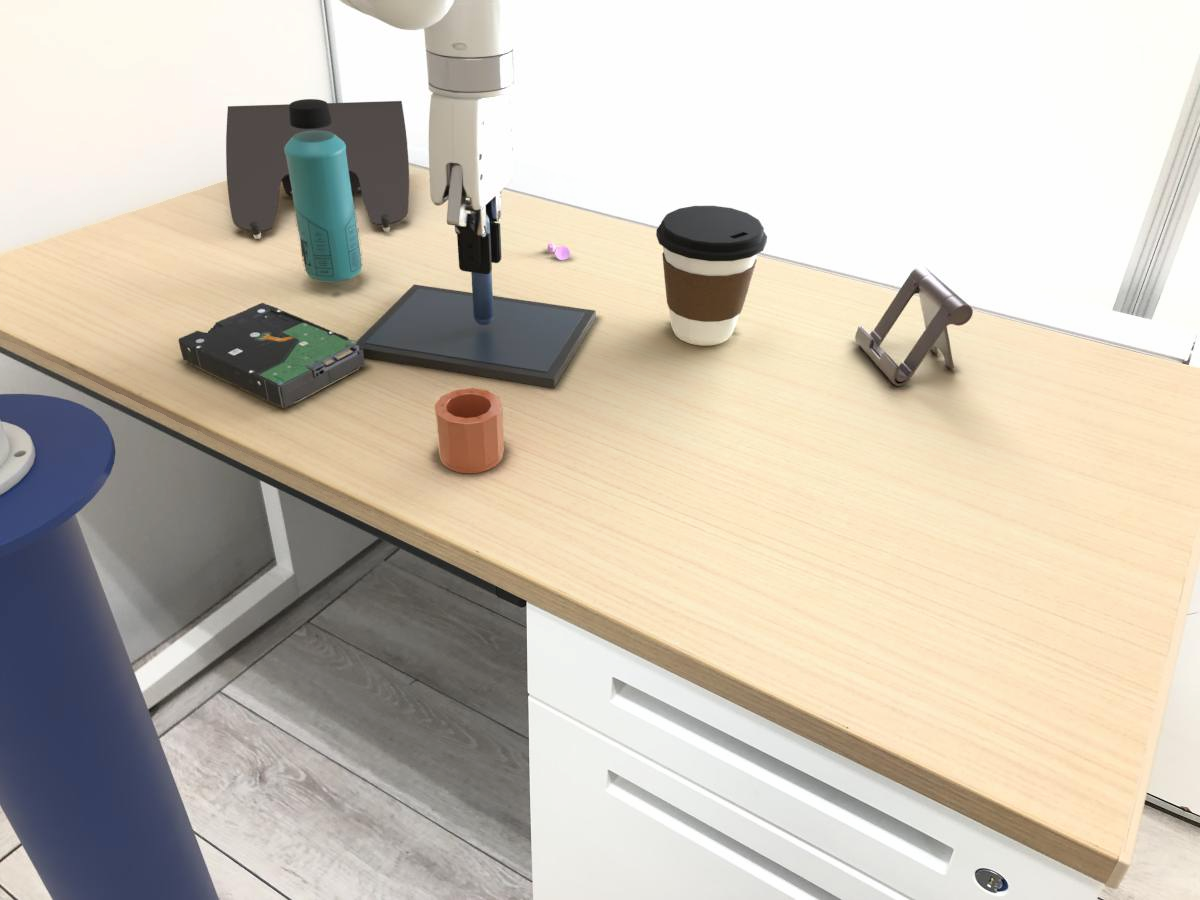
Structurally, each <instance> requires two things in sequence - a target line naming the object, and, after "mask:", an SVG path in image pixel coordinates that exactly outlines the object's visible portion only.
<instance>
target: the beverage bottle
mask: <svg viewBox="0 0 1200 900" xmlns="http://www.w3.org/2000/svg"><path fill="white" fill-rule="evenodd" d="M327 103H328V102H327V101H325V100H322V99H318V98H305V99H297V100H294V101H292V102H291V103H289V104H290V105H289V113H290V125H291V126H293V127H295V128H301V129H315V128H322V127H326V126H328V125H330V124H331V123H332V120H331V116H330V112H329V107H328V104H327ZM284 151H285V154H286V159H287V164H288V170H289V176H290V182H291V188H292V191H291V189H290V192H291V193H292V196H293V197H292V205H293V207H294V211H295V213H294V215H293V216H295V222H296V224H295V227H297V228H296V230H297V231H298V237H297V239H298V240H299V246H300V250H299V251H300V252H301V254H300V255H301V259H302V262H303V264H302V265H303V266H302V267H304V268H303V269H304V272H306V274H307V276H308V277H309V278H310V279H312V280H315V281H317V282H318V281H319V282H324V283H325V282H326V283H335V282H343V281H347V280H350V279H352V278H355V277H357V276H358V275H359V274H360V273H361V272H362V266H363V254H362V253H363V252H362V250H361V244H362V243H360V239H361V238H360V235H359V228H358V226H357V225H358V224H357V223H358V218H357V216H358V215H357V213H356V209H357V208H356V206H355V205H356V204H355V200H354V194H353V193H352V191H351V184H350V177H349V170H348V163H347V156H346V145H345V143H344V142H343V141H342V140H341V139H340V138H339V137H337V136H336V135H335V134H333V133H331V132H328V131H320V130H313V131H304V132H300V133H297V134H295V135H294V136H293V137H292V138H291V139H290V140H289V141H288V143H287V144H286V146H285V148H284Z"/></svg>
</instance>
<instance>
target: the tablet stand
mask: <svg viewBox="0 0 1200 900" xmlns="http://www.w3.org/2000/svg"><path fill="white" fill-rule="evenodd" d="M916 294H918V296H919V302H920V307H921V313H922V317H923V321H924V327H925V329H924V330H923V332H922V334H921V335H920V337H919V339H918V340H917V341H916V343H914V346H913V347H912V349H911V350H910V352H909V353H908V355H907V356H906V357H905V359H904V361H903V362H901V363H900V364H899V365H898V363H896V361H895V360H893V358H891V356H890V355H889V354H888V353H887V352H886V351H885V350H883V348H881V345H882V343H883V341H884V340H885V338H886V337H887V336H888V334H889V332H890V331H891V329H892V328H893V327H894V325H895V323H896V322H897V320H898V319H899V317H900V316H901V314H902V312H903V311H904V310H905V308H906V307H907V305H908V304H909V302H910V301H911V299H912V297H913V296H915V295H916ZM973 313H974V312H973V308H972V307H971V305H969V304H968V303H967V302H966V301H965V300H964V299H963V298H962V297H960V296H959V295H958V294H956V293H955V292H954V291H953V290H952V289H951V288H949V286H947V285H946V284H945V283H944V282H943V281H941V280H940V279H939V278H938V277H937V276H936V275H935V274H934V273H932V272H931V270H929V269H928V268H926V267H925V266H918V267H916V268H914V269H913V270H912V271H911V272H910V274H909V276H908V277H907V278H906V280H905V281H904V282H903V284H902V286H901V287H900V289H899V290H898V291H897V294H896V295H895V297H894V298H893V300H892V301H891V303H890V304H889V306H888V307H887V309H886V310H885V312H884V313H883V315H882V317H881V318H880V320H879V321H878V322H877V324H876V326H875V327H874V329H873V330H871V332H870V333H869V332H868V331H867V330H866V329H865V328H864V327H863V326H862V325H858V327H857V330H856V332H855V335H854V340H855V342H856V343H857V345H858V346H860V349H862V350H863V351H864V353H866V354H867V356H868V357H869V358H870V359H871V360H872V361H873V362H874V364H875V365H876V366H877V367H878V368H879V369H880V370H881V371H882V372H883V374H884V375H885V377H886V378H887V379H888V380H889V381H890V382H891V383H892V384H893V385H894V386H896V387H902V386H904V385H906V384H907V383H908V382H909V381H910V380H911V378H912V377H913V376H914V374H915V372H916V371H917V369H918V368H919V367H920V366H921V364H922V362H923V361H924V360H925V358H926V357H927V355H928V354H929V352H930V351H932V352H933V353H934V355H938V354H939V351H940V352H941V354H942V357H943V360H944V363H945V365H946V366H947V367H948V369H950V370H953V369H955V365H954V359H953V353H952V348H951V343H950V336H949V332H948V326H949V325H954V326H957V327H958V326H964V325H966V324H967V323H968V322H969V321H970V320H971V319H972V317H973Z"/></svg>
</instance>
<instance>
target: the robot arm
mask: <svg viewBox="0 0 1200 900" xmlns="http://www.w3.org/2000/svg"><path fill="white" fill-rule="evenodd" d="M339 2H341V3H342V4H344V5H346V6H348V7H350V8H352V9H354V10H356V11H358V12H360V13H362V14H364V15H367V16H370V17H372V18H374V19H377V20H379V21H381V22H383V23H385V24H387V25H389V26H391V27H393V28H396V29H400V30H406V31H417V30H423V32H424V34H423V35H424V47H425V57H426V72H427V85H428V90H429V92H431V95H430V103H429V115H428V169H429V192H430V200H431V202H432V204H433V205H435V206H442V205H443V204H444V203H446V202H447V209H446V211H447V212H446V224H447V225H449V226H454V232H455V234H456V240H457V256H458V257H457V258H458V268H459V270H460V271H462V272H467V273H471V272H474V273H481V274H489V273H490V272H491V271H492V270H493V264H499V263H500V262H501V261H502V238H501V237H502V236H501V222H500V221H501V219H502V205H501V198H502V190H503V189H504V188H505V187H506V186H507V184H509V182H510V181H511V179H512V176H513V168H514V167H513V166H514V148H513V147H514V146H513V126H512V116H511V114H512V113H511V104H510V103H511V102H510V96H509V94H510V93H511V92H513V91H514V90H515V69H514V66H515V65H514V38H513V37H514V34H513V33H514V30H513V29H514V28H513V0H339ZM466 211H467V212H466ZM468 212H469V213H468ZM473 212H476V217H475V216H474V215H473V214H472V213H473ZM486 214H487V215H488V217H489V221H490V234H488V233H486V231H487V228H486ZM492 272H493V271H492ZM35 456H36V454H35V447H34V445H33V442H32V440H31V437H30V436H29V435H28V434H27V432H26V431H25V430H23V429H21V428H20V427H18V426H16V425H13V424H10V423H7V422H1V420H0V495H2V494H3V493H5V492H7V491H8V490H9V489H11V488H12V487H13V486H15V485H16V484H17V483H18V482H19V481H20V480H21V479H22V478H23V477H24V476H25V475H26V474H27V473H28V472H29V470H30V468H31V467H32V465H33V463H34V460H35Z"/></svg>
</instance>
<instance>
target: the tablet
mask: <svg viewBox="0 0 1200 900" xmlns="http://www.w3.org/2000/svg"><path fill="white" fill-rule="evenodd" d="M596 318H597V311H596V310H594V309H588V308H580V307H574V306H567V305H559V304H552V303H545V302H540V301H539V302H538V301H534V300H533V301H532V300H524V299H519V298H511V297H504V296H497V295H493V320H492V322H491V323H489V324H488V325H480V324H478V323H477V322H476V321H475V319H474V311H473V293H472V292H471V291H462V290H457V289H456V290H455V289H449V288H442V287H435V286H428V285H421V284H413V285H412V286H411V287H410V288H409V289H408V290H407V291H405V293H404V294H403V295H402V296H401V297H399V299H398V300H397V301H396V302H394V303H393V305H392V306H391V307H390V308H389V309H388V310H387V311H386V312H385V313H383V315H381V317H380V318H378V320H376V321H375V322H374V324H373V325H371V327H370V328H369V329H367V331H365V332H364V334H363V335H361V336H360V338H359V339H358V340H357V341H355V342H356V343H357V344H356V345H359V348H361V349H363V353H364V358H367V359H374V360H378V361H385V362H392V363H396V364H402V365H403V364H404V365H410V366H415V367H422V368H427V369H428V368H429V369H433V370H434V369H435V370H440V371H445V372H453V373H458V374H459V373H460V374H465V375H472V376H478V377H482V378H483V377H485V378H490V379H495V380H502V381H509V382H515V383H521V384H527V385H531V386H532V385H534V386H539V387H545V388H552V389H555V387H556V386H557V384H558V383H559V381H560V379H561V378H562V376H563V374H564V372H565V371H566V369H567V368H568V366H569V364H570V363H571V361H572V359H573V357H574V356H575V354H576V353H577V351H578V349H579V347H580V345H581V344H582V342H583V341H584V339H585V337H586V336H587V334H588V332H589V331H590V329H591V327H592V325H593V324H594V322H595V321H596Z"/></svg>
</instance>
